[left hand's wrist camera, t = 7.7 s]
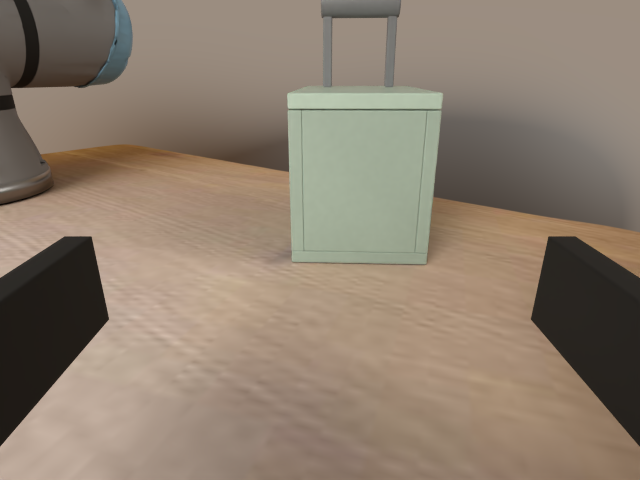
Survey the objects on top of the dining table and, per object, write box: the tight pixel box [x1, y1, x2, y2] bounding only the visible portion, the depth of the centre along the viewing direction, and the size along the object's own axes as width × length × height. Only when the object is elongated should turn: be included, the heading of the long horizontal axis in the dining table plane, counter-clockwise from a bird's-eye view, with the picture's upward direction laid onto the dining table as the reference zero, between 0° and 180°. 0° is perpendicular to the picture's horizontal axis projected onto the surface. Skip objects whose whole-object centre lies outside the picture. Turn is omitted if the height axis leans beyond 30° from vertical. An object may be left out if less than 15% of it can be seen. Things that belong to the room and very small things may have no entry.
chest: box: [288, 109, 441, 264], centre depth 34 cm, size 15×9×10 cm, turn 177°
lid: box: [287, 0, 443, 110], centre depth 31 cm, size 15×9×8 cm, turn 177°
